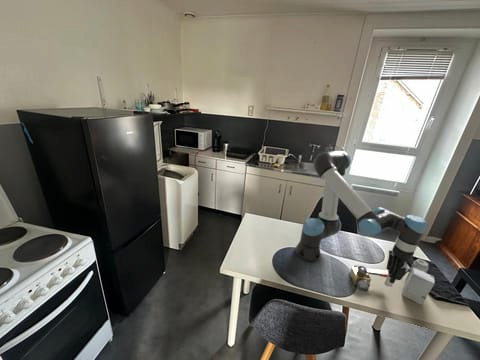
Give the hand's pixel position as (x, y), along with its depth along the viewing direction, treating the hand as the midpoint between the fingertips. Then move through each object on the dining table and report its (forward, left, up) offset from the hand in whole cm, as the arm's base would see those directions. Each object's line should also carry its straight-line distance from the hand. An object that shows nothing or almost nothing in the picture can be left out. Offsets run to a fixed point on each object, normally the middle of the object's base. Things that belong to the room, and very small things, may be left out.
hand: (388, 285), depth 102 cm
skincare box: (+14, +1, -7) cm, 15 cm away
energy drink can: (+19, +10, -7) cm, 23 cm away
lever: (-4, +6, 0) cm, 8 cm away
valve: (-10, +6, -6) cm, 13 cm away
